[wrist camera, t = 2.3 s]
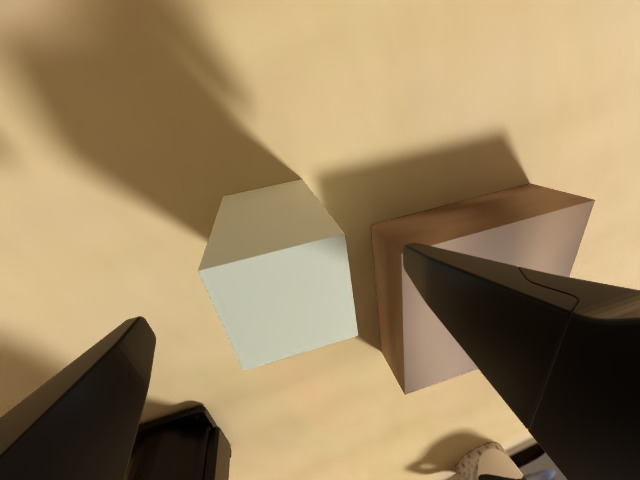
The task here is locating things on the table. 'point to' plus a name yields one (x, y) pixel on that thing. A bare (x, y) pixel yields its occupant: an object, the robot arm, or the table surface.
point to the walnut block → (472, 239)
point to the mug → (487, 465)
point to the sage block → (278, 274)
